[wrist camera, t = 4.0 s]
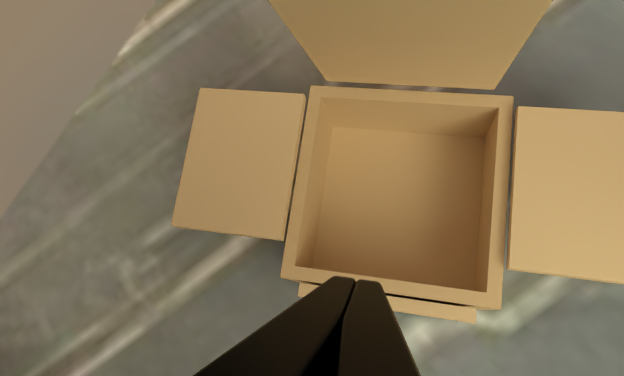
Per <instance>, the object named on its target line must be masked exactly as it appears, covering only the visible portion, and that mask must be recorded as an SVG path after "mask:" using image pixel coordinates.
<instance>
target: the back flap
mask: <svg viewBox="0 0 624 376" xmlns="http://www.w3.org/2000/svg"><path fill="white" fill-rule="evenodd" d="M268 1H269V2H270V4H271V5H272V6H273V8H274V9H275V10H276V12H277V13H278V15H279V16H280V17H281V19H282V20H283V22H284V23H285V24H286V26H287V27H288V28H289V30H290V31H291V33H292V34H293V35H294V37H295V38H296V39H297V41H298V42H299V44H300V45H301V46H302V48H303V49H304V50H305V52H306V53H307V55H308V56H309V57H310V59H311V60H312V61H313V63H314V64H315V66H316V67H317V68H318V70H319V71H320V73H321V74H322V75H323V77H324V78H325V79H326V81H334V82H354V83H374V84H393V85H413V86H432V87H452V88H472V89H491V90H494V89H495V88H496V86H497V85H498V83H499V82H500V80H501V79H502V77H503V75H504V74H505V72H506V71H507V69H508V68H509V66H510V65H511V63H512V62H513V60H514V59H515V57H516V56H517V54H518V53H519V51H520V50H521V48H522V46H523V45H524V43H525V42H526V40H527V39H528V37H529V36H530V34H531V33H532V31H533V30H534V28H535V27H536V25H537V24H538V22H539V21H540V19H541V18H542V16H543V14H544V13H545V11H546V10H547V8H548V7H549V5H550V4H551V2H552V1H553V0H268Z"/></svg>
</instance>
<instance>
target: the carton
mask: <svg viewBox="0 0 624 376" xmlns="http://www.w3.org/2000/svg"><path fill="white" fill-rule="evenodd" d="M513 99H514V96H501V95H482V94H464V93H445V92H426V91H407V90H389V89H370V88H351V87H333V86H314V85H311V87H310V93H309V99H308V105H307V112H306V118H305V124H304V130H303V137H302V143H301V149H300V155H299V162H298V168H297V174H296V180H295V187H294V193H293V199H292V205H291V212H290V218H289V224H288V230H287V237H286V243H285V249H284V255H283V262H282V268H281V274H280V278H284V279H288V280H292V281H296V282H299V283H300V285H299V291H298V296H299V297H304V296H306V295H307V294H308V293H310V292H311V291H313V290H314V289H315V288H317V287H318V286H320V285H321V284H322V283H324V282H325V281H327V280H328V279H329V278H331V277H333V276H343V277H350V278H354V279H355V280H356V282H357V280H359V279H364V280H371V281H377V282H379V283H380V284H381V285H382V287H383V290H384V292H385V294H386V297H387V299H388V301H389V304H390V306H391V308H392V311H397V312H403V313H410V314H416V315H423V316H429V317H436V318H442V319H449V320H456V321H462V322H469V323H475V324H476V310H477V309H482V310H498V309H501V300H502V283H503V267H504V250H505V233H506V216H507V199H508V183H509V166H510V149H511V132H512V116H513ZM305 105H306V97H305V95H304V94H299V93H282V92H264V91H247V90H229V89H212V88H200V91H199V96H198V100H197V105H196V110H195V114H194V119H193V124H192V128H191V133H190V138H189V142H188V147H187V152H186V156H185V161H184V166H183V170H182V175H181V180H180V184H179V189H178V194H177V198H176V203H175V208H174V212H173V217H172V222H171V226H174V227H178V228H185V229H193V230H201V231H209V232H217V233H225V234H232V235H240V236H248V237H256V238H264V239H271V240H279V241H284V236H285V229H286V223H287V217H288V211H289V205H290V198H291V192H292V186H293V180H294V173H295V167H296V161H297V155H298V149H299V142H300V136H301V130H302V124H303V118H304V111H305ZM506 270H514V271H522V272H530V273H538V274H545V275H553V276H561V277H569V278H577V279H585V280H592V281H600V282H608V283H616V284H624V112H612V111H595V110H577V109H560V108H542V107H525V106H518V107H517V109H516V111H515V125H514V142H513V160H512V177H511V194H510V211H509V228H508V245H507V262H506ZM303 283H304V284H303ZM310 284H311V285H310ZM317 285H318V286H317ZM392 296H393V297H392ZM399 297H400V298H399ZM406 298H407V299H406ZM413 299H414V300H413ZM419 300H421V301H419ZM426 301H427V302H426ZM433 302H434V303H433ZM440 303H441V304H440ZM447 304H448V305H447ZM454 305H455V306H454ZM460 306H461V307H460ZM467 307H468V308H467ZM474 308H475V309H474Z"/></svg>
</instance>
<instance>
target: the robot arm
mask: <svg viewBox="0 0 624 376" xmlns="http://www.w3.org/2000/svg"><path fill="white" fill-rule="evenodd" d="M193 376H421V375H420V373H419V370H418V368H417V366H416V363H415V361H414V359H413V357H412V354H411V352H410V350H409V347H408V345H407V343H406V340H405V338H404V336H403V334H402V331H401V329H400V327H399V324H398V322H397V320H396V317H395V315H394V313H393V311H392V308H391V306H390V304H389V301H388V299H387V297H386V294H385V292H384V290H383V287H382V285H381V284H380V283H379V282H377V281H371V280H364V279H359V280H357V282H356V280H355V279H354V278H350V277H343V276H333V277H331V278H329V279H328V280H327V281H325V282H324V283H322V284H321V285H320V286H318V287H317V288H315V289H314V290H313V291H311V292H310V293H308V294H307V295H306V296H304V297H303V298H301V299H300V300H298V301H297V302H296V303H294V304H293V305H291V306H290V307H289V308H287V309H286V310H284V311H283V312H282V313H280V314H279V315H277V316H276V317H275V318H273V319H272V320H270V321H269V322H268V323H266V324H265V325H263V326H262V327H260V328H259V329H258V330H256V331H255V332H253V333H252V334H251V335H249V336H248V337H246V338H245V339H244V340H242V341H241V342H239V343H238V344H237V345H235V346H234V347H232V348H231V349H230V350H228V351H227V352H225V353H224V354H222V355H221V356H220V357H218V358H217V359H215V360H214V361H213V362H211V363H210V364H208V365H207V366H206V367H204V368H203V369H201V370H200V371H199V372H197V373H196V374H194V375H193Z"/></svg>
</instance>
